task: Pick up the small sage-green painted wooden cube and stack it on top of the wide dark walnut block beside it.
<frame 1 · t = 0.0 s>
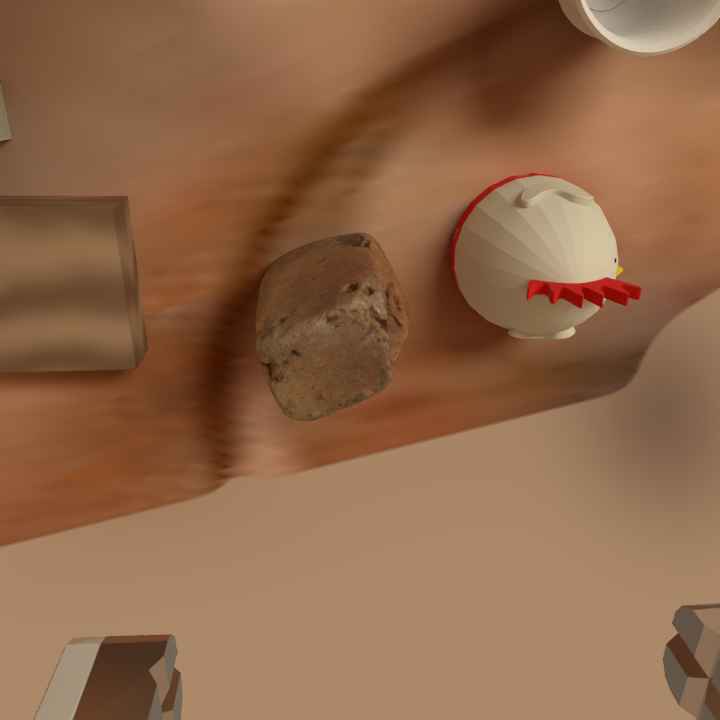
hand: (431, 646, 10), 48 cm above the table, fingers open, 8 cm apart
walnut base block: (58, 276, 55), on the table
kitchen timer: (523, 250, 58), on the table
block: (329, 273, 57), on the table
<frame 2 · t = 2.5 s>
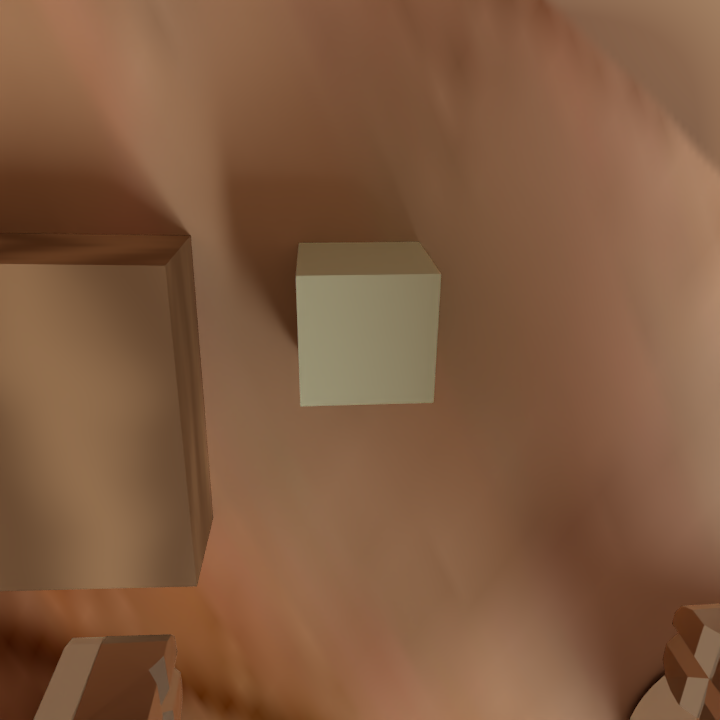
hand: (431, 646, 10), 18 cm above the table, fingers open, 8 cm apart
walnut base block: (45, 387, 28), on the table
sage cube: (358, 299, 27), on the table
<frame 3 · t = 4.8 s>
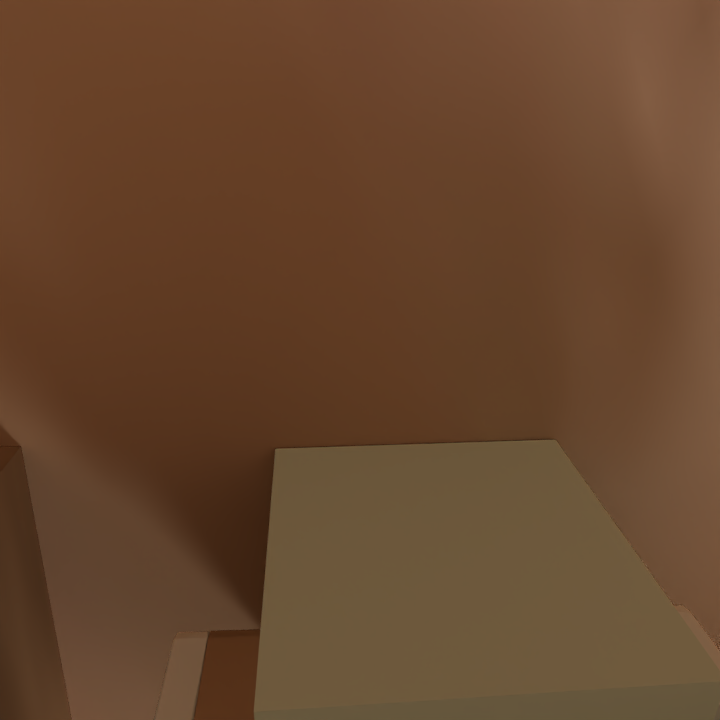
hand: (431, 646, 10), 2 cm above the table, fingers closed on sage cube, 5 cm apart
sage cube: (411, 555, 12), on the table, touching gripper
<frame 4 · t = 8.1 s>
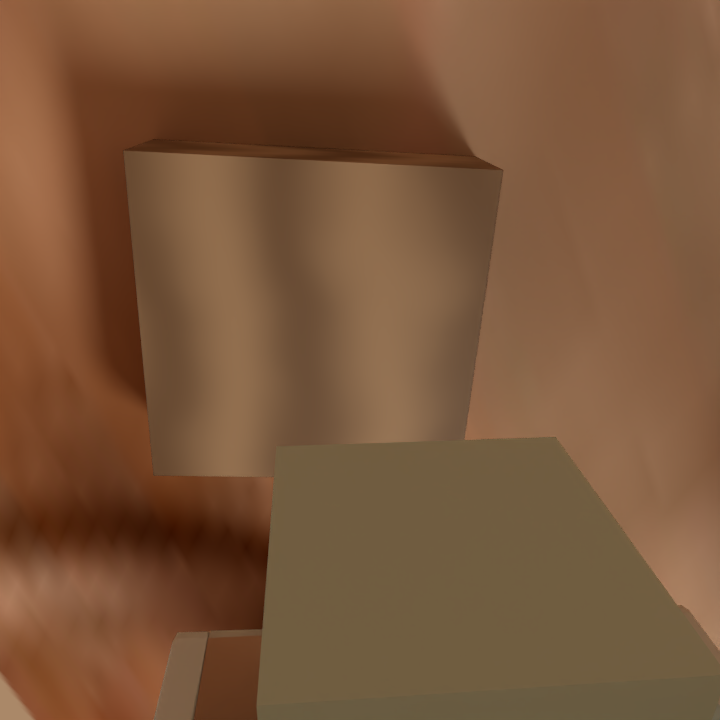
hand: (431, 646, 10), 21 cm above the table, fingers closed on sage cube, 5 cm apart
walnut base block: (313, 297, 30), on the table
sage cube: (412, 553, 12), point 19 cm above the table, touching gripper
when the fingers open (9 cm above the table, at t = 11.5 s): sage cube drops 2 cm, resting on walnut base block.
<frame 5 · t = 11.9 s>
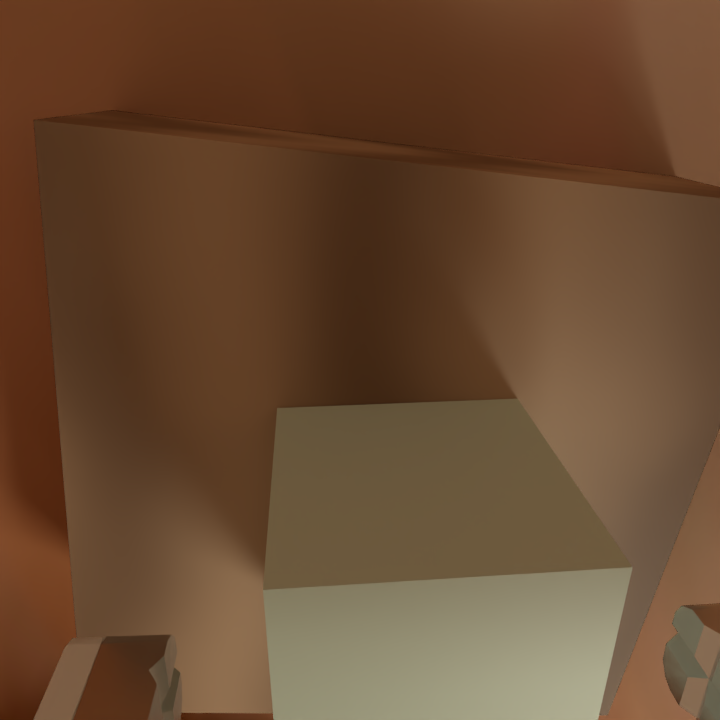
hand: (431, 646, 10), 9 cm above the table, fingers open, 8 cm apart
walnut base block: (372, 393, 18), on the table, touching sage cube
sage cube: (396, 502, 14), point 5 cm above the table, touching walnut base block
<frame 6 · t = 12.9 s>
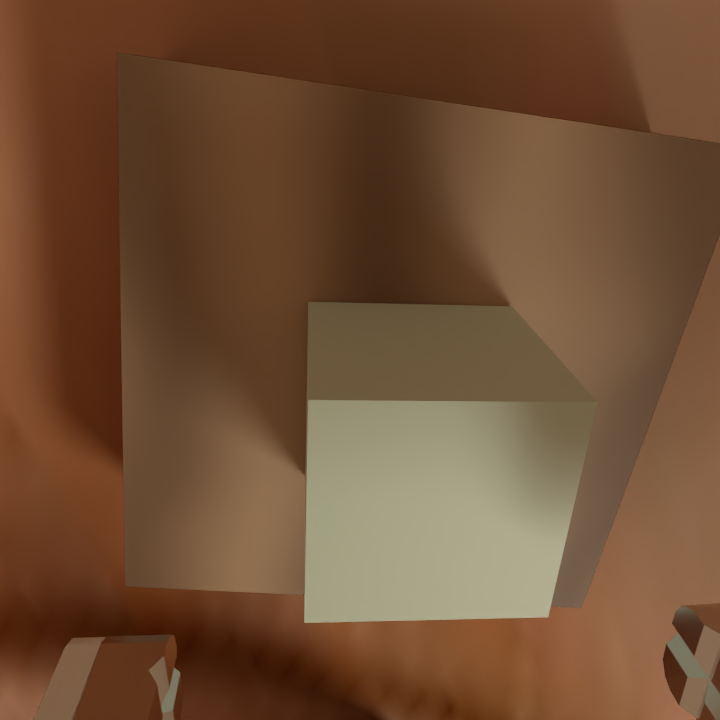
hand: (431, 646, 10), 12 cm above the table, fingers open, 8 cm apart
walnut base block: (380, 324, 21), on the table
sage cube: (403, 395, 16), point 5 cm above the table
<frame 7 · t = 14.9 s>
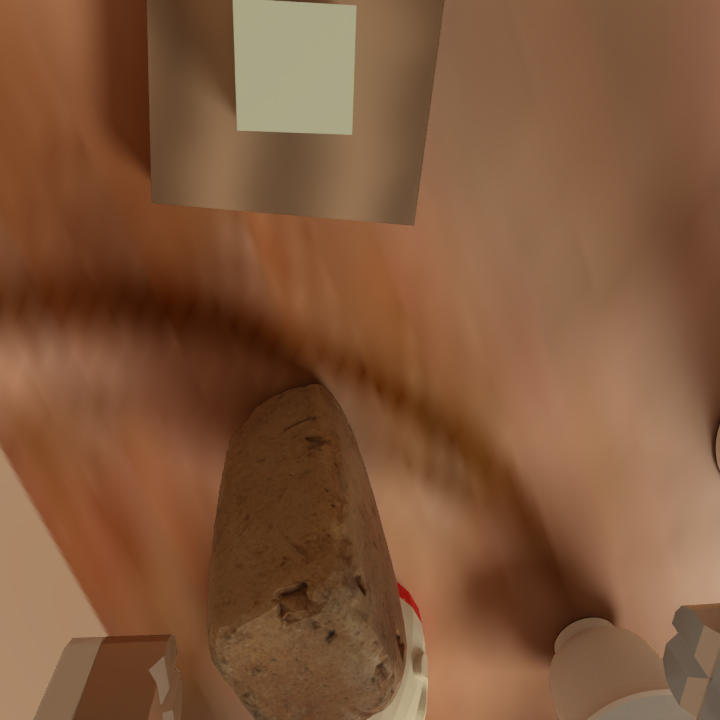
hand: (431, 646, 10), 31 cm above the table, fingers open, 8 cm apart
walnut base block: (294, 74, 35), on the table, touching sage cube
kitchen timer: (337, 630, 52), on the table
sage cube: (294, 73, 31), point 4 cm above the table, touching walnut base block
teacup: (595, 645, 56), on the table
block: (307, 444, 45), on the table
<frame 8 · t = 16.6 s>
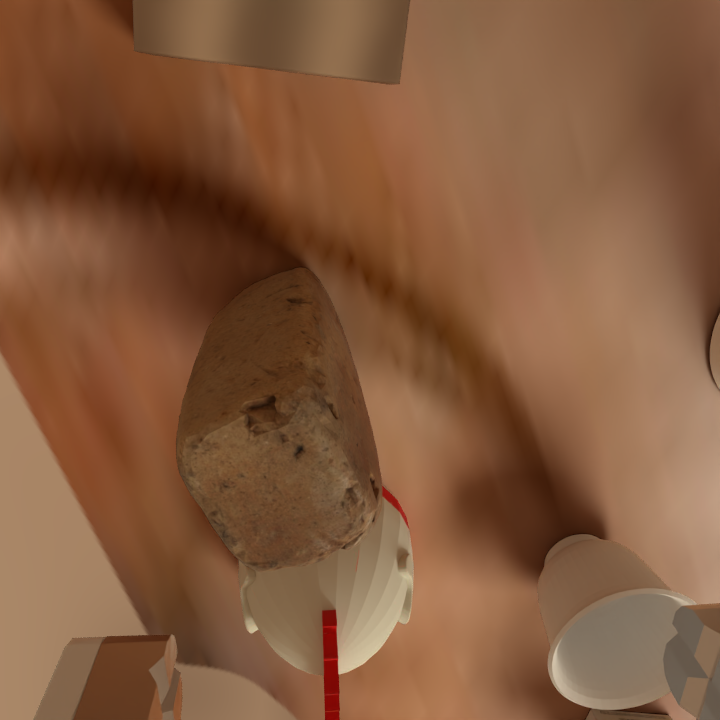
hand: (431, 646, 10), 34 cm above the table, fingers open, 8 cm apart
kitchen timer: (325, 538, 52), on the table
teacup: (586, 564, 55), on the table
block: (295, 337, 44), on the table
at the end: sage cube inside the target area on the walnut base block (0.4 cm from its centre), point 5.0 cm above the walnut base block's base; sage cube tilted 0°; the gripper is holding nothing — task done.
